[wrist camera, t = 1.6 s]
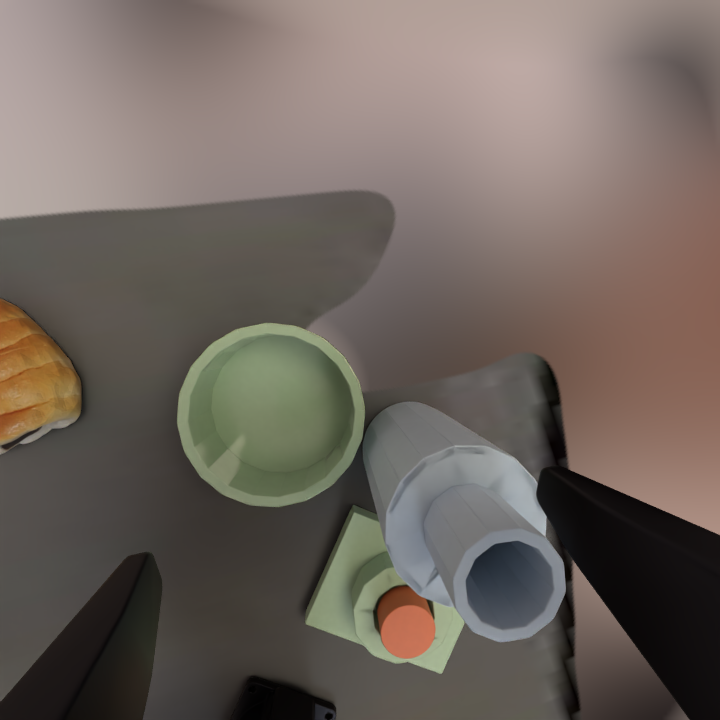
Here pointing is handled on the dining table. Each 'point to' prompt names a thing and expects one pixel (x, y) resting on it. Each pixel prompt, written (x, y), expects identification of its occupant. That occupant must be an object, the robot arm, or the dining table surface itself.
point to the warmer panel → (371, 594)
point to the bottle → (462, 522)
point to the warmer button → (405, 622)
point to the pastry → (33, 381)
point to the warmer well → (271, 415)
